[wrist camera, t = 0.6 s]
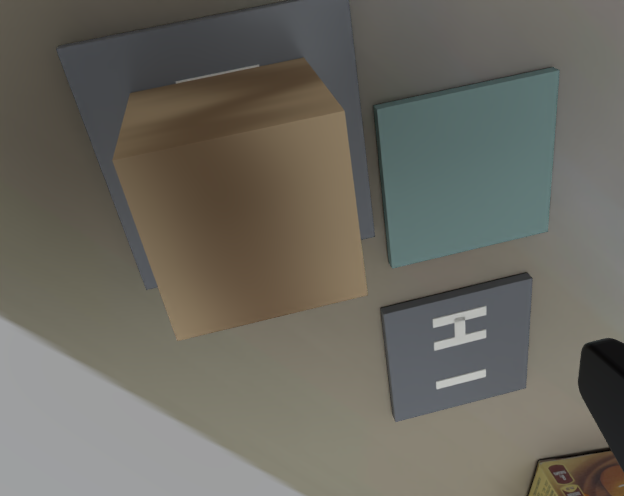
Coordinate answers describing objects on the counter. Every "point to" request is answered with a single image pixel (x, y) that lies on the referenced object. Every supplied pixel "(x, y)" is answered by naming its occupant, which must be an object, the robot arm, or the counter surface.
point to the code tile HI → (457, 346)
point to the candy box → (579, 476)
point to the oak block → (242, 196)
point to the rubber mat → (467, 165)
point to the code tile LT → (210, 62)
